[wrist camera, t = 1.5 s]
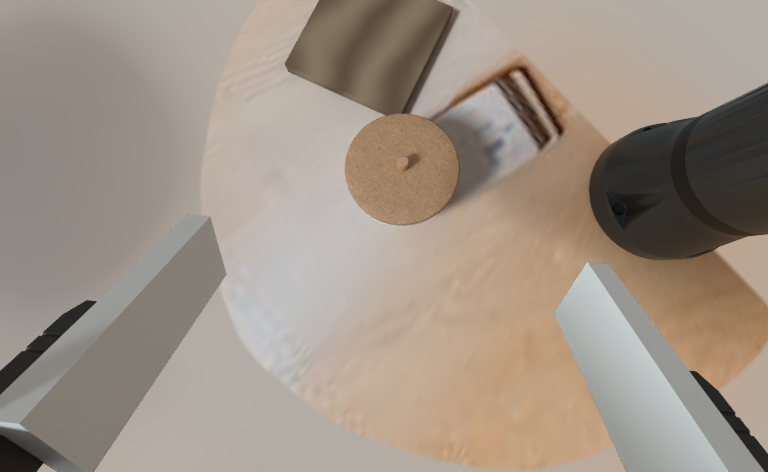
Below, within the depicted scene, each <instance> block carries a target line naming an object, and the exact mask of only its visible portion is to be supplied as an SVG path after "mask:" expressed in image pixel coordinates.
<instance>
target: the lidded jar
mask: <svg viewBox="0 0 768 472" xmlns="http://www.w3.org/2000/svg"><path fill="white" fill-rule="evenodd" d="M345 176H346V182H347V185H348V188H349V191H350V193H351V195H352V197H353V199H354V200H355V201H356V203H357V204H358V206H359V207H360V208H361V209H362V210H363V211H364V212H365V213H366V214H367V215H368V216H370V217H371V218H372V219H374V220H376V221H378V222H380V223H382V224H385V225H388V226H393V227H408V226H414V225H417V224H420V223H422V222H424V221H426V220H428V219H430V218H432V217H433V216H434V215H436V214H437V213H439V212H440V211H441V210H442V209H443V208H444V207H445V206H446V205H447V203H448V202H449V200H450V199H451V198H452V196H453V194H454V192H455V190H456V187H457V183H458V179H459V160H458V155H457V152H456V149H455V146H454V145H453V143H452V141H451V139H450V138H449V137H448V135H447V134H446V133H445V132H444V131H443V130H442V129H441V128H440V127H439V126H438V125H436V124H435V123H433V122H432V121H430V120H428V119H426V118H423V117H420V116H417V115H412V114H392V115H387V116H384V117H381V118H379V119H376V120H374V121H372V122H371V123H370V124H368V125H367V126H365V127H364V128H363V129H362V130H361V131H360V132H359V133H358V134H357V136H356V137H355V138H354V140H353V141H352V143H351V145H350V147H349V150H348V153H347V156H346V162H345Z"/></svg>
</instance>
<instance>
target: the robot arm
mask: <svg viewBox="0 0 768 472" xmlns="http://www.w3.org/2000/svg"><path fill="white" fill-rule="evenodd" d="M589 191H590V201H591V206H592V209H593V212H594V215H595V217H596V219H597V221H598V223H599V225H600V226H601V228H602V229H603V230H604V232H605V233H606V234H607V235H608V236H609V237H610V238H611V239H612V240H613V241H614V242H615V243H616V244H617V245H619V246H620V247H622V248H623V249H625V250H626V251H628V252H630V253H632V254H635V255H637V256H640V257H643V258H648V259H654V260H674V259H688V258H693V257H697V256H700V255H703V254H706V253H708V252H710V251H713V250H714V249H716V248H718V247H720V246H722V245H725V244H728V243H731V242H733V241H736V240H739V239H741V238H744V237H747V236H755V235H765V234H768V83H766V84H764V85H762V86H760V87H758V88H756V89H754V90H752V91H750V92H748V93H746V94H744V95H742V96H739V97H737V98H735V99H733V100H731V101H729V102H727V103H725V104H723V105H721V106H719V107H717V108H715V109H713V110H711V111H709V112H707V113H705V114H703V115H701V116H699V117H694V118H688V119H683V120H678V121H673V122H669V123H662V124H655V125H651V126H646V127H643V128H640V129H638V130H635V131H633V132H631V133H630V134H628V135H626V136H624V137H623V138H621V139H619V140H617V141H616V142H614V143H613V144H611V145H610V146H609V147H608V148H607V149H606V150H605V151H604V152H603V153H602V154H601V156H600V157H599V159H598V160H597V162H596V164H595V166H594V168H593V171H592V175H591V179H590V189H589ZM225 276H226V271H225V267H224V264H223V260H222V257H221V253H220V250H219V246H218V243H217V239H216V236H215V232H214V228H213V225H212V221H211V218H210V217H208V216H199V215H190V214H188V215H187V216H186V217H185V218H184V219H183V220H182V221H180V222H179V224H177V225H176V226H175V227H174V228H173V229H172V230H171V231H170V232H169V233H168V234H167V235H166V236H165V237H164V238H163V239H162V240H161V241H160V242H159V243H158V244H157V245H156V246H154V247H153V248H152V249H151V251H150V252H148V253H147V254H146V255H145V256H144V257H143V258H142V259H141V260H140V261H139V262H138V263H137V264H136V265H135V266H134V267H133V268H132V269H131V270H130V271H129V272H128V273H126V274H125V275H124V276H123V277H122V278H121V279H120V280H119V281H118V282H117V283H116V284H115V285H114V286H113V287H112V288H111V289H110V290H109V291H108V292H107V293H106V294H105V295H104V296H102V298H100V299H99V300H98V301H88V300H87V301H85V302H83V303H82V304H80V305H78V306H76V307H75V308H73V309H71V310H70V311H68V312H66V313H64V314H63V315H62V316H61V317H59V319H57V320H56V321H55V322H54V323H53V324H52V325H51V326H49V328H47V329H46V330H45V331H44V332H43V335H42V336H38V337H37V338H36V339H35V340H34V341H33V342H32V343H31V344H30V345H29V346H27V349H26V351H22V352H21V353H20V354H18V355H17V356H16V357H15V358H14V359H13V360H12V361H11V362H10V363H9V364H7V365H6V366H5V367H4V368H3V369H2V370H1V371H0V472H37V471H38V469H39V468H40V467H41V465H42V464H43V463H44V464H46V465H47V466H49V467H50V468H52V469H54V470H55V471H57V472H94V471H95V469H96V468H97V466H98V465H99V463H100V462H101V460H102V459H103V457H104V456H105V454H106V453H107V452H108V450H109V449H110V447H111V446H112V444H113V442H114V441H115V440H116V438H117V436H118V435H119V434H120V432H121V431H122V429H123V428H124V426H125V425H126V423H127V422H128V420H129V419H130V417H131V416H132V414H133V413H134V411H135V410H136V408H137V407H138V405H139V404H140V402H141V401H142V399H143V398H144V396H145V395H146V393H147V392H148V390H149V389H150V387H151V386H152V384H153V383H154V382H155V380H156V379H157V377H158V376H159V374H160V373H161V371H162V369H163V368H164V367H165V365H166V364H167V362H168V361H169V359H170V358H171V356H172V355H173V353H174V352H175V350H176V349H177V347H178V346H179V344H180V343H181V341H182V340H183V338H184V337H185V335H186V334H187V332H188V331H189V329H190V328H191V326H192V325H193V323H194V322H195V320H196V319H197V317H198V316H199V314H200V313H201V312H202V310H203V309H204V307H205V305H206V304H207V303H208V301H209V300H210V298H211V297H212V295H213V294H214V292H215V291H216V289H217V288H218V286H219V285H220V283H221V282H222V280H223V279H224V277H225ZM554 315H555V317H556V319H557V321H558V324H559V326H560V328H561V330H562V332H563V334H564V337H565V339H566V341H567V343H568V345H569V348H570V350H571V352H572V354H573V356H574V359H575V361H576V363H577V365H578V367H579V370H580V372H581V374H582V376H583V378H584V381H585V383H586V385H587V387H588V389H589V391H590V394H591V396H592V398H593V400H594V402H595V405H596V407H597V409H598V411H599V413H600V416H601V418H602V420H603V422H604V424H605V427H606V429H607V431H608V433H609V435H610V438H611V440H612V442H613V444H614V446H615V448H616V451H617V453H618V455H619V457H620V459H621V462H622V464H623V466H624V468H625V470H626V472H768V454H767V452H766V451H765V450H764V448H763V447H762V446H761V445H760V444H759V442H758V441H757V440H756V439H755V437H754V436H751V435H750V431H749V429H748V428H747V427H746V426H745V425H744V423H743V422H742V421H741V419H740V418H738V417H736V416H735V412H734V410H733V409H732V408H731V407H730V405H729V404H728V403H727V401H726V400H725V399H724V398H723V396H722V395H721V394H720V393H719V391H718V390H717V389H715V388H714V387H713V386H712V385H711V384H710V383H709V382H708V381H706V380H705V379H704V378H703V377H702V376H701V375H700V374H698V373H697V372H696V371H689V370H688V369H687V368H686V366H685V365H684V364H683V362H682V361H681V360H680V358H679V357H678V356H677V354H676V353H675V352H674V350H673V349H672V348H671V346H670V345H669V344H668V342H667V341H666V340H665V338H664V337H663V336H662V334H661V333H660V332H659V330H658V329H657V328H656V326H655V325H654V324H653V322H652V321H651V320H650V318H649V317H648V316H647V314H646V313H645V312H644V310H643V309H642V308H641V306H640V305H639V304H638V302H637V301H636V300H635V298H634V297H633V296H632V294H631V293H630V292H629V290H628V289H627V288H626V286H625V285H624V284H623V282H622V281H621V280H620V278H619V277H618V276H617V274H616V273H615V272H614V270H613V269H612V268H611V266H610V265H608V264H599V263H591V262H587V264H586V265H585V267H584V268H583V270H582V271H581V273H580V274H579V276H578V277H577V279H576V280H575V282H574V283H573V285H572V286H571V288H570V290H569V291H568V293H567V294H566V296H565V297H564V299H563V300H562V302H561V303H560V305H559V306H558V308H557V309H556V311H555V312H554Z"/></svg>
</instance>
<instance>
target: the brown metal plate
mask: <svg viewBox="0 0 768 472" xmlns="http://www.w3.org/2000/svg"><path fill="white" fill-rule="evenodd" d="M452 10H453V7H451V6H448V5H446V4H444V3H441V2H439V1H436V0H319V2H318V4H317V5H316V7H315V9H314V11H313V13H312V15H311V16H310V18H309V20H308V22H307V24H306V26H305V27H304V29H303V31H302V33H301V35H300V37H299V38H298V40H297V42H296V44H295V46H294V48H293V49H292V51H291V53H290V55H289V57H288V59H287V60H286V62H285V65H286V67H287V69H288V71H289V72H290V73H292V74H295V75H297V76H299V77H301V78H304V79H306V80H308V81H310V82H313V83H315V84H317V85H319V86H321V87H324V88H326V89H328V90H330V91H333V92H335V93H337V94H339V95H341V96H344V97H346V98H348V99H350V100H353V101H355V102H357V103H359V104H362V105H364V106H366V107H368V108H370V109H373V110H375V111H377V112H379V113H382V114H384V115H386V116H387V115H392V114H403V113H404V111H405V109H406V107H407V105H408V103H409V101H410V99H411V97H412V95H413V93H414V91H415V89H416V87H417V85H418V83H419V80H420V78H421V76H422V74H423V72H424V70H425V68H426V66H427V64H428V62H429V60H430V58H431V56H432V54H433V52H434V50H435V48H436V46H437V44H438V42H439V40H440V38H441V36H442V34H443V32H444V30H445V28H446V26H447V24H448V22H449V20H450V18H451V14H452Z"/></svg>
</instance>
